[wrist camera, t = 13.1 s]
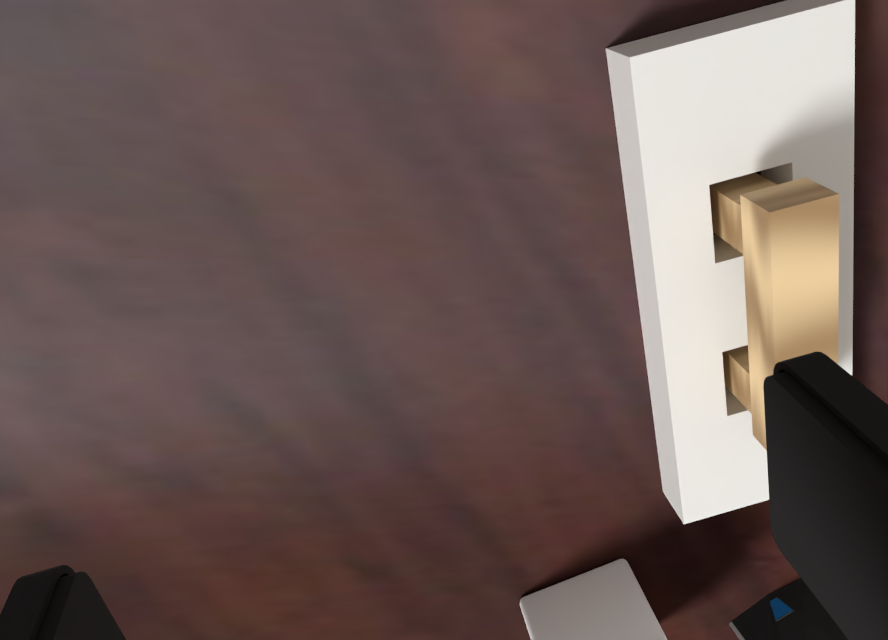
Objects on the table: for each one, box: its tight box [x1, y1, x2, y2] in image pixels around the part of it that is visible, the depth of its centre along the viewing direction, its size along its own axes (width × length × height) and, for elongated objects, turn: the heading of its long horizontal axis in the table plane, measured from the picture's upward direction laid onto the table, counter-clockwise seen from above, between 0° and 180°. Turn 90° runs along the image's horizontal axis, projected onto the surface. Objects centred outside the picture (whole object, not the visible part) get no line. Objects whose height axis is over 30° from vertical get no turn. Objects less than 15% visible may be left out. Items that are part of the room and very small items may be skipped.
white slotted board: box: [606, 0, 855, 524], centre depth 41 cm, size 26×10×3 cm, turn 13°
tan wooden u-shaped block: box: [709, 173, 839, 451], centre depth 39 cm, size 13×3×8 cm, turn 12°
